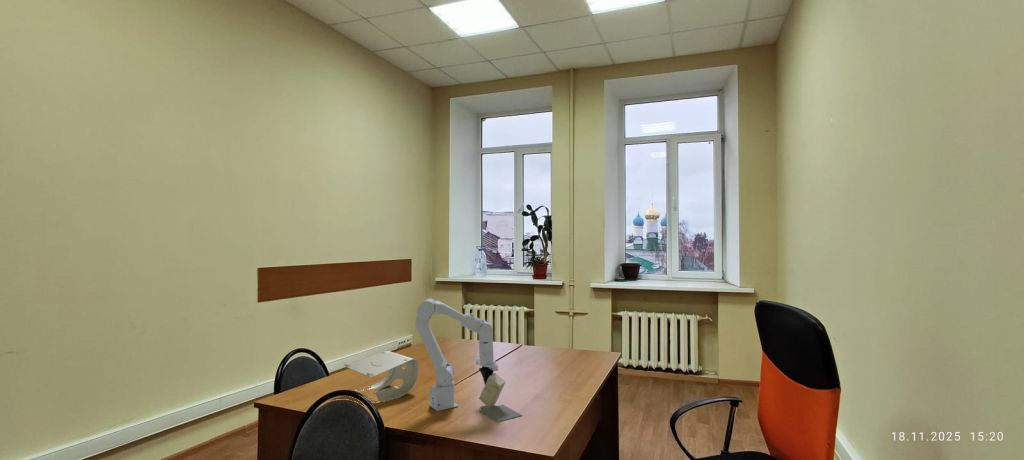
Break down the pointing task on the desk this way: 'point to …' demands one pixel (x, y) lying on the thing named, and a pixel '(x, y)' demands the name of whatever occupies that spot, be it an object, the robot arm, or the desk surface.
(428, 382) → the desk surface
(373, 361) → the portable electronic device stand
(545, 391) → the desk surface
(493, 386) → the skincare box
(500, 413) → the mat
